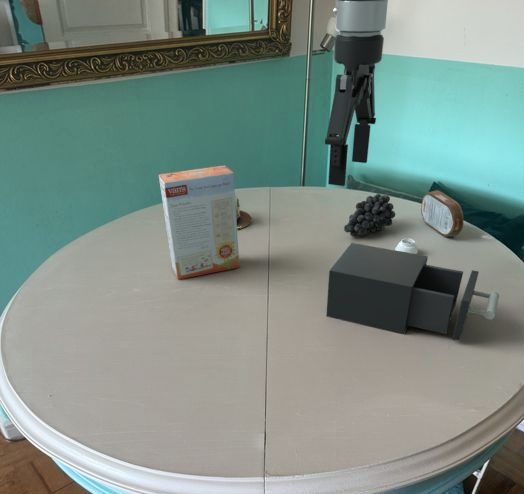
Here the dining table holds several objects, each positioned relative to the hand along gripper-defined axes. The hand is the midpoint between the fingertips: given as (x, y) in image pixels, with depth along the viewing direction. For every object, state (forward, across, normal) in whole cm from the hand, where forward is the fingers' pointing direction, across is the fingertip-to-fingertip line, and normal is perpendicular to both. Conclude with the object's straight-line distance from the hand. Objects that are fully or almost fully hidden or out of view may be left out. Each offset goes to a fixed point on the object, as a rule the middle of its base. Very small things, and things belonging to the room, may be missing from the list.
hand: (348, 172), depth 92 cm
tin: (+23, -36, +13) cm, 45 cm away
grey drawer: (+22, +6, +21) cm, 31 cm away
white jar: (+23, -20, +9) cm, 32 cm away
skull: (+23, -21, -37) cm, 49 cm away
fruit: (+23, -29, -3) cm, 37 cm away
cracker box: (+23, +4, -29) cm, 38 cm away
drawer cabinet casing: (+23, +6, +9) cm, 25 cm away
